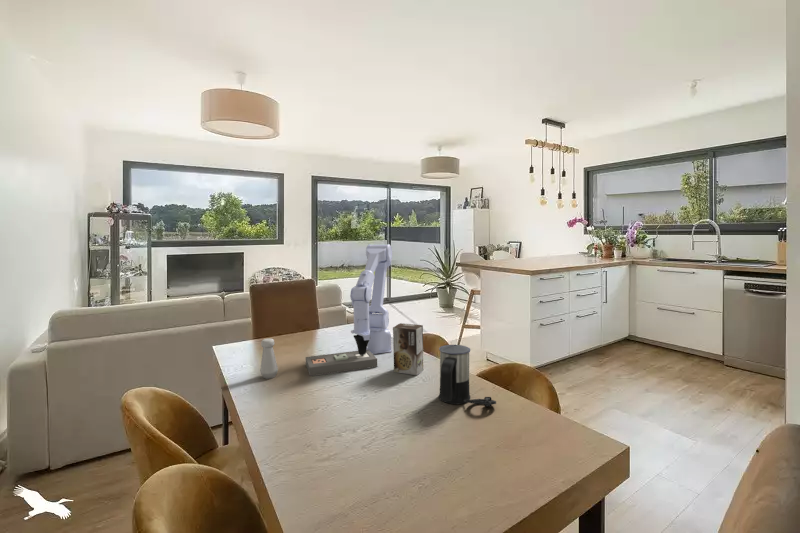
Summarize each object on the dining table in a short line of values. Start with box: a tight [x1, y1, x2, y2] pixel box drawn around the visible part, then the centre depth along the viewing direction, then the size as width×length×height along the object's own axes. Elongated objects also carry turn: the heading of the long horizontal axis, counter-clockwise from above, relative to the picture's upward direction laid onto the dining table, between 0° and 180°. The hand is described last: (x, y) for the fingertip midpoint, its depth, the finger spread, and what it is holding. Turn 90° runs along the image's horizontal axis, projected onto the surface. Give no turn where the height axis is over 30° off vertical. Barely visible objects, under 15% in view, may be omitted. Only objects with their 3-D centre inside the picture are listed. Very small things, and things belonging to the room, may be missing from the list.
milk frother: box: [438, 344, 497, 408], centre depth 110 cm, size 14×16×15 cm
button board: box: [305, 350, 378, 377], centre depth 141 cm, size 24×12×3 cm, turn 110°
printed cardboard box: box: [392, 322, 424, 376], centre depth 135 cm, size 9×6×16 cm
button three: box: [312, 358, 326, 364], centre depth 139 cm, size 4×4×3 cm
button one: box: [355, 353, 369, 358], centre depth 144 cm, size 4×4×3 cm
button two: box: [334, 354, 348, 361], centre depth 141 cm, size 4×4×3 cm
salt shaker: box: [259, 337, 279, 380], centre depth 131 cm, size 6×6×13 cm
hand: (362, 354), depth 144 cm, fingers closed
